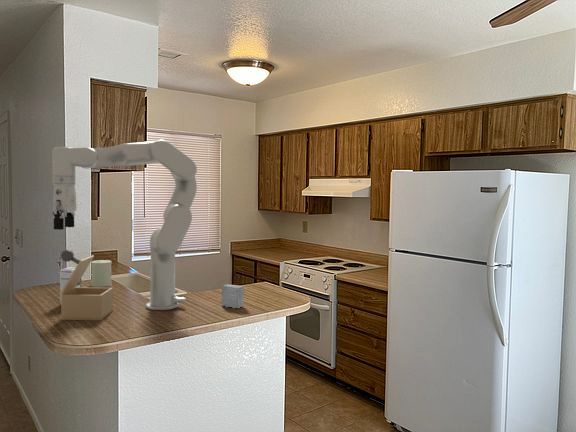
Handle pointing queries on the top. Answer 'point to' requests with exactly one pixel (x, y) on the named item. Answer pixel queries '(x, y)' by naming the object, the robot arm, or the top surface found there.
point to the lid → (79, 270)
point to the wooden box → (86, 303)
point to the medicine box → (232, 296)
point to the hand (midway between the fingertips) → (64, 228)
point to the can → (101, 273)
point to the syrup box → (66, 278)
